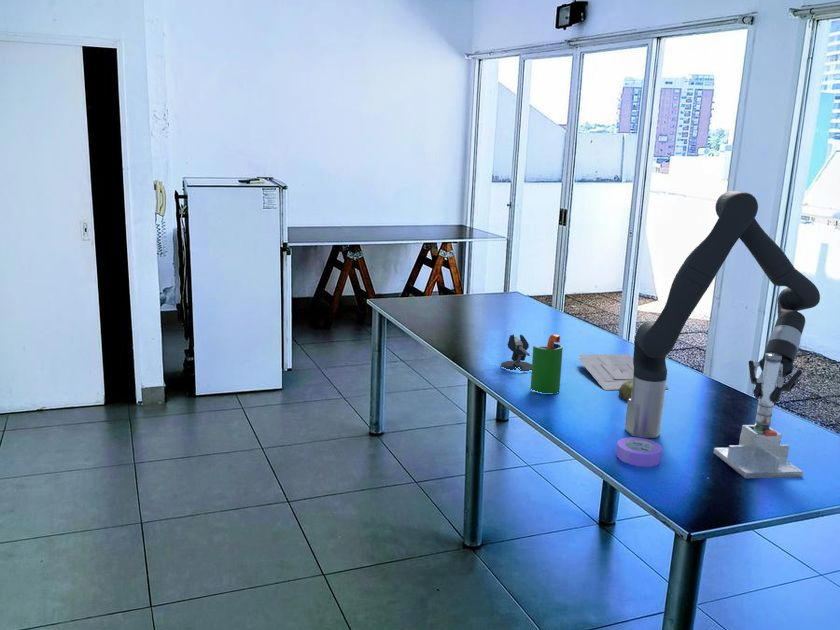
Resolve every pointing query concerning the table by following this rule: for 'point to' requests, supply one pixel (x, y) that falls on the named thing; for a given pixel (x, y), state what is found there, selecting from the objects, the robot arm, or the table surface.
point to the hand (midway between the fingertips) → (765, 399)
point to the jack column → (767, 392)
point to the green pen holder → (547, 366)
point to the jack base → (759, 455)
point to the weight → (626, 390)
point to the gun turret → (518, 354)
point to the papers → (610, 369)
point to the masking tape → (639, 451)
